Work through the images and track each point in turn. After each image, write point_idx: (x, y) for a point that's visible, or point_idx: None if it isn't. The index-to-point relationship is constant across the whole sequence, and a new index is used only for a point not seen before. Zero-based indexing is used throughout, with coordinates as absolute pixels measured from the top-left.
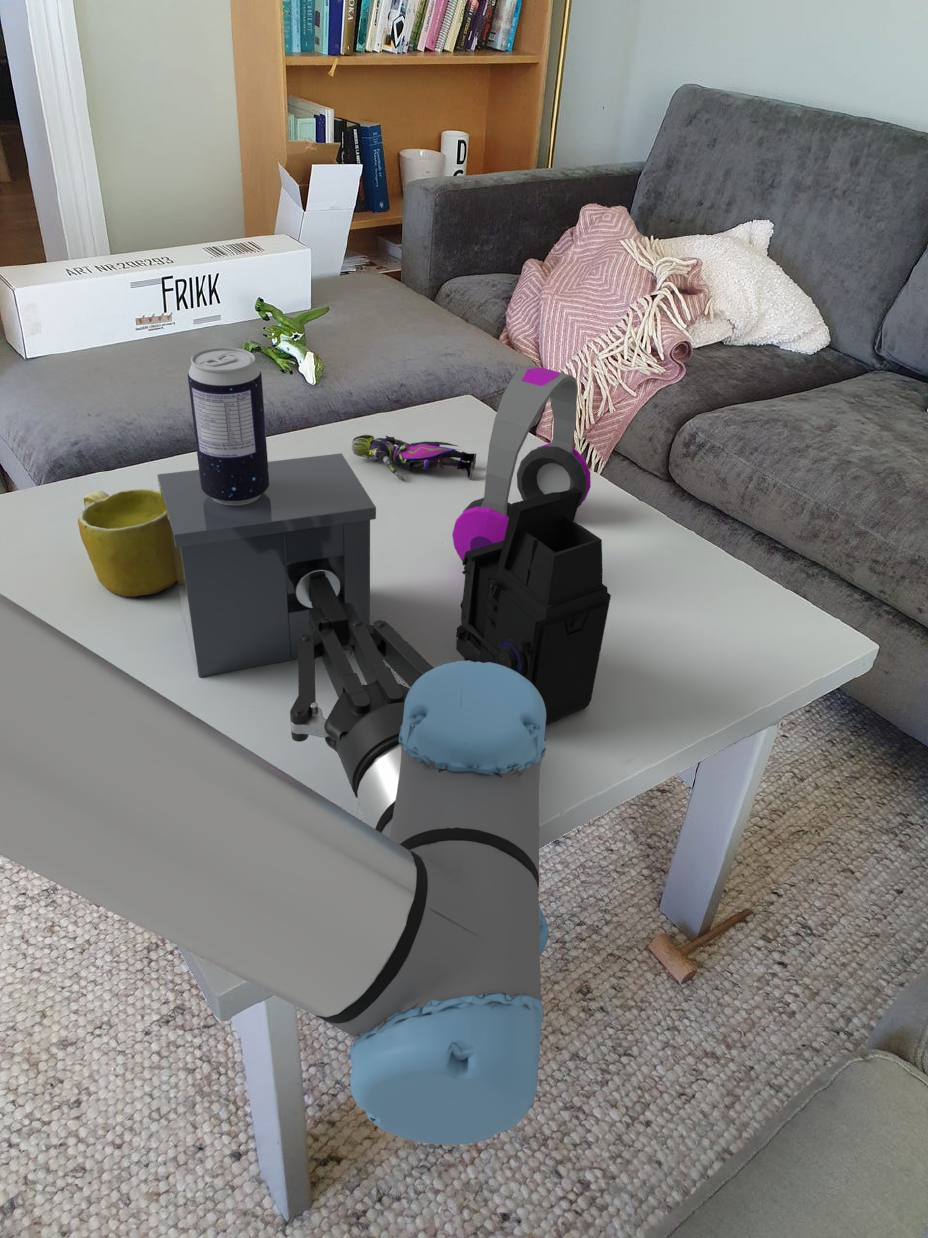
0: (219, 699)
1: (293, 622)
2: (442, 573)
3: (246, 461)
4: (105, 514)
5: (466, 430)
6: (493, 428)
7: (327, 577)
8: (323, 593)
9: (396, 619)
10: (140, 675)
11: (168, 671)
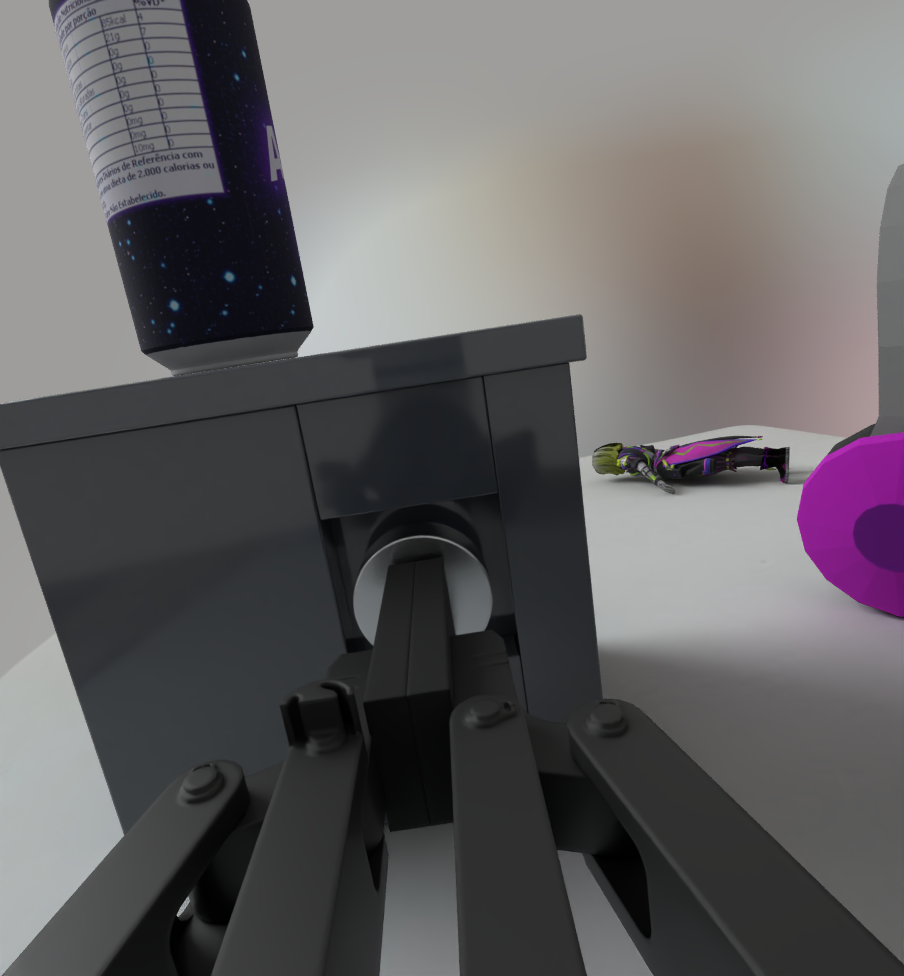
0: None
1: None
2: (782, 611)
3: (195, 215)
4: None
5: (759, 444)
6: (881, 247)
7: (441, 558)
8: (403, 597)
9: (685, 715)
10: (26, 839)
11: (89, 833)
